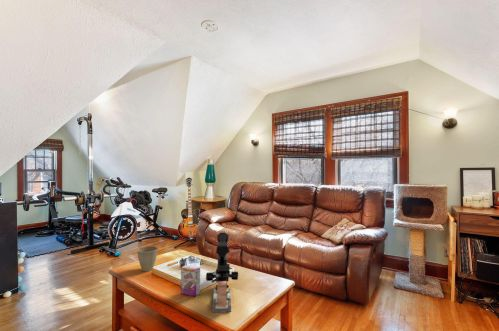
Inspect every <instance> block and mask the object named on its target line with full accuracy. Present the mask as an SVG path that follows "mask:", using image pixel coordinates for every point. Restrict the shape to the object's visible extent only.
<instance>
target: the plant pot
mask: <svg viewBox="0 0 499 331" xmlns="http://www.w3.org/2000/svg"><path fill="white" fill-rule="evenodd" d="M158 250H159V247H158V246H153V245H148V246H147V245H146V246H142V247H141V246H140V247H139V248H137V256H138V261H139V262H138V263H139V265H140V269H141V271H142V272H150V271H152V270H153V269H152V268H154V267H155V263H156V260H157V256H158Z"/></svg>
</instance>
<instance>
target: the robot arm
mask: <svg viewBox="0 0 499 331" xmlns="http://www.w3.org/2000/svg"><path fill="white" fill-rule="evenodd" d="M229 236H230V235H229V234H227V232H219V234H217V235H216V241H217V247H216V248H215V249H216V252H215V254H216V255H217V266H216V269H215V274H214V272H206V274H205V280H206V281H207V282H212V281H213V280H214V279H215V282H216V283H218V281H227V282H229V279H231V280H232V281H237V280H239V271H231V270H230V268H231V266H230V263H228V254H229V253H230V247H229V246H228V245H229V243H228V242H229ZM215 287H217V284H215ZM227 288H230V285H228V284H227Z"/></svg>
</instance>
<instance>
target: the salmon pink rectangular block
mask: <svg viewBox="0 0 499 331" xmlns="http://www.w3.org/2000/svg"><path fill="white" fill-rule="evenodd" d="M216 285H217V286H216V287H217V289H216V292H217V300H216V306H215V309H225V308H228V300H227V289H228V287H227V285H228V281H218V282H217V284H216Z"/></svg>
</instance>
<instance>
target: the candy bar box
mask: <svg viewBox="0 0 499 331" xmlns="http://www.w3.org/2000/svg"><path fill="white" fill-rule="evenodd" d="M180 294H182V295H186V296H190V297H191V296H192V297H198V296H199V295H200V294H201V267H200V266H193V265H187V264H184V265H183V266H182V267H181V268H180Z"/></svg>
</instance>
